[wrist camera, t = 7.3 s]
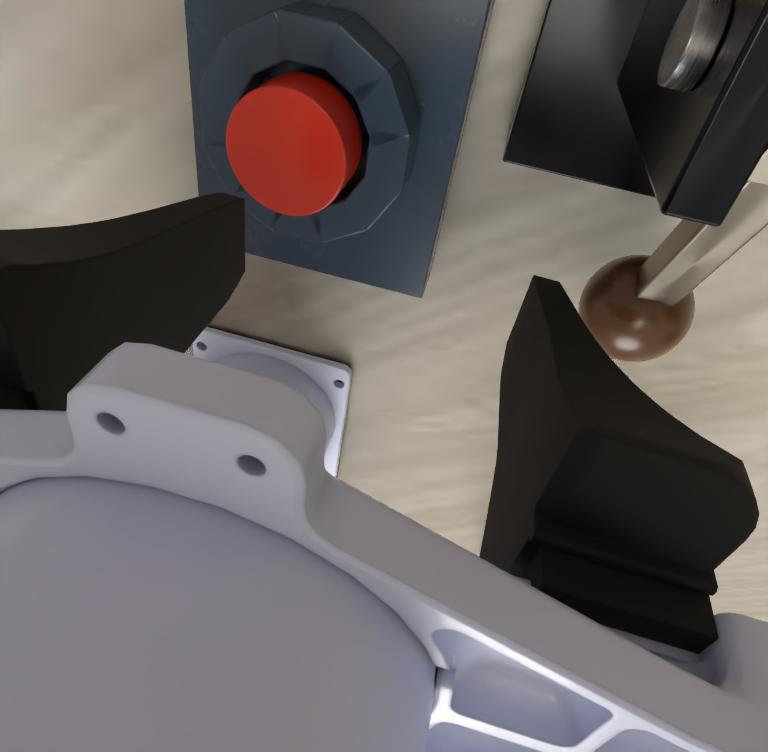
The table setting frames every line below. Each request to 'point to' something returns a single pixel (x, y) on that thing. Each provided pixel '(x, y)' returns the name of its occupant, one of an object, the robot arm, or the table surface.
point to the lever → (668, 279)
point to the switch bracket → (649, 99)
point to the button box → (372, 108)
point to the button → (294, 143)
